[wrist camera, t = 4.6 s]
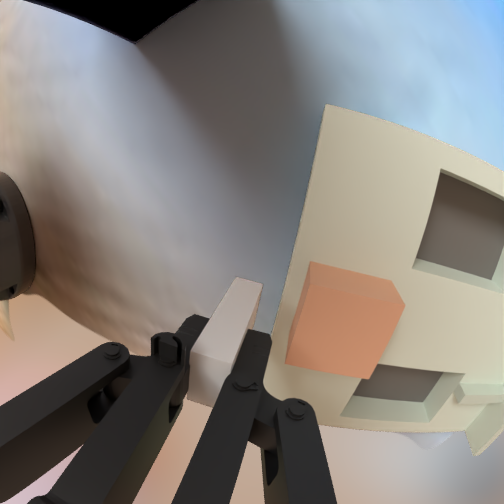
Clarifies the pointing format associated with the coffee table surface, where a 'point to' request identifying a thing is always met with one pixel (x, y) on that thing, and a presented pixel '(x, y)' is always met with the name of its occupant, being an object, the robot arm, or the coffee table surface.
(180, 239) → the coffee table surface
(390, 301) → the block
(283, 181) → the coffee table surface
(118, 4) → the vase
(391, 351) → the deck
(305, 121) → the coffee table surface
